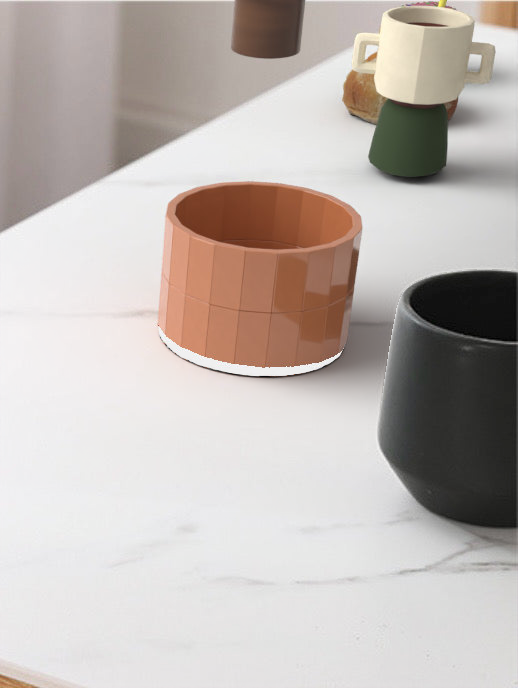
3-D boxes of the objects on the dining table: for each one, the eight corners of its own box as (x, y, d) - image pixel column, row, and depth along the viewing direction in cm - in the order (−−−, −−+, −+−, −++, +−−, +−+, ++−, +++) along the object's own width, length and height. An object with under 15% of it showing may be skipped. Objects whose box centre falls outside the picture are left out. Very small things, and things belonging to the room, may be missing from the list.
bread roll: (352, 163, 143) (378, 98, 136) (319, 86, 149) (343, 20, 142) (455, 157, 144) (485, 91, 138) (418, 80, 150) (445, 14, 144)
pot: (342, 304, 108) (358, 187, 104) (348, 385, 97) (366, 259, 93) (164, 290, 110) (172, 175, 106) (151, 368, 100) (160, 244, 96)
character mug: (476, 165, 132) (502, 11, 126) (470, 193, 126) (498, 33, 120) (344, 150, 135) (363, -1, 129) (333, 177, 130) (352, 21, 123)
